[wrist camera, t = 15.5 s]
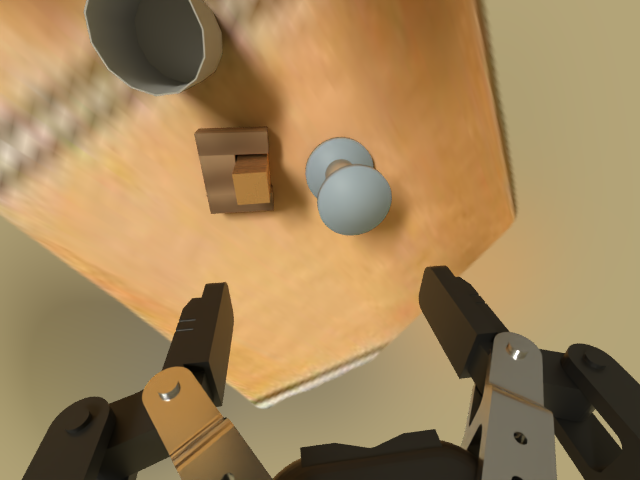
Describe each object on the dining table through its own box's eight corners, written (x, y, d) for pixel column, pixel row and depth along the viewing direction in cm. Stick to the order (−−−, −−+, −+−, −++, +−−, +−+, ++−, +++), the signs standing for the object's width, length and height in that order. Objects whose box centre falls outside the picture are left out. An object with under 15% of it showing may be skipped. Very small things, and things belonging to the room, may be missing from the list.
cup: (239, 39, 33) (227, 37, 24) (193, 100, 35) (168, 117, 27) (165, -38, 29) (120, -72, 20) (119, 36, 31) (63, 33, 23)
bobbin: (304, 138, 39) (313, 164, 30) (374, 135, 40) (401, 160, 31) (306, 203, 44) (314, 241, 35) (368, 200, 45) (390, 236, 36)
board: (198, 128, 37) (194, 133, 35) (267, 126, 38) (266, 131, 35) (214, 205, 42) (211, 213, 40) (273, 202, 43) (273, 210, 41)
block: (239, 151, 39) (231, 174, 32) (267, 150, 39) (266, 172, 32) (243, 178, 41) (237, 205, 34) (270, 176, 41) (270, 202, 34)
